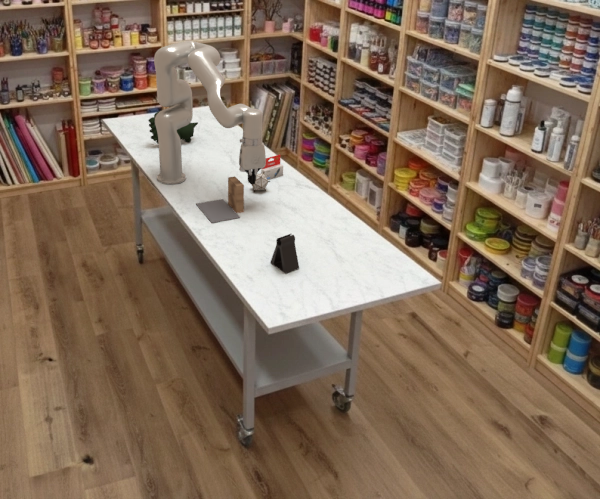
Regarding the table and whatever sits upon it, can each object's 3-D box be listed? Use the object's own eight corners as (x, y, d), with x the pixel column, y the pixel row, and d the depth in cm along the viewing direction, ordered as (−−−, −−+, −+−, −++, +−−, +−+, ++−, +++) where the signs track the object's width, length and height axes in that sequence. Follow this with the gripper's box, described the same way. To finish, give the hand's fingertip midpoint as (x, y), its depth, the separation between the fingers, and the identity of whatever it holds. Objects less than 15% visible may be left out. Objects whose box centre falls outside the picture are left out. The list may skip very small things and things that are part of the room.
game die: (261, 199, 304) (266, 188, 295) (244, 190, 304) (247, 179, 295) (270, 183, 308) (274, 172, 299) (252, 175, 308) (256, 163, 299)
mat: (195, 204, 289) (195, 203, 288) (223, 199, 294) (222, 198, 294) (211, 223, 275) (211, 222, 275) (240, 218, 280) (240, 217, 280)
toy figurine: (158, 154, 337) (204, 141, 349) (152, 117, 327) (200, 105, 338) (149, 148, 344) (195, 135, 355) (144, 111, 333) (191, 99, 345)
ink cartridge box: (283, 175, 318) (284, 155, 314) (264, 181, 312) (264, 161, 307) (279, 174, 320) (280, 154, 315) (260, 179, 313) (261, 159, 309)
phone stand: (270, 263, 251) (271, 233, 245) (283, 258, 254) (284, 229, 248) (285, 273, 245) (287, 244, 239) (299, 268, 248) (300, 239, 243)
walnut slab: (228, 204, 291) (228, 177, 285) (234, 202, 292) (234, 176, 286) (236, 213, 284) (236, 186, 278) (243, 211, 285) (243, 185, 279)
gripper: (238, 146, 271) (238, 189, 280) (273, 141, 277) (272, 183, 286) (231, 139, 276) (231, 182, 285) (265, 134, 283) (264, 176, 292)
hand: (251, 182), depth 286 cm, fingers closed
